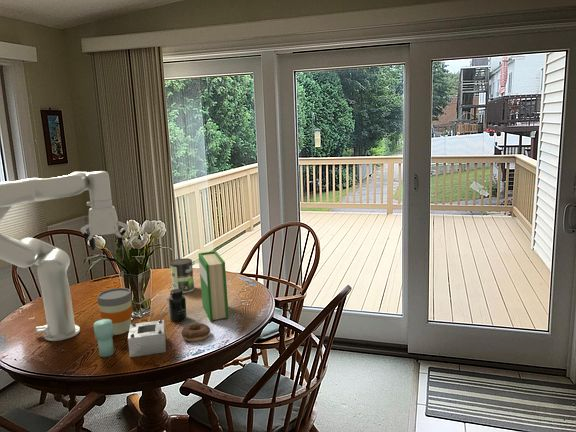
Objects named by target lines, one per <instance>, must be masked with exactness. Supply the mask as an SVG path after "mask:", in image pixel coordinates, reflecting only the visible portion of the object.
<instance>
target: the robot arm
mask: <svg viewBox="0 0 576 432" xmlns="http://www.w3.org/2000/svg"><path fill="white" fill-rule="evenodd" d="M111 189H112V188H111V180H110V175H109V173H108V171H105V170H99V171H98V170H97V171H90V172H89V171H88V172H87V171H73V172H71V173H70V174H68V175H67V174H66V175H62V176H57V177H50V178H38V177H31V178H24V179H20V180H14V181H0V222H1V221H2V220H3V219H4V217H5V216H6V215H7V213H9V212H10V210H11V208H12V207H13V206H17V205H23V204H28V203H29V204H30V203H34V202H35V203H36V202H43V201H48V200H56V199H61V198H62V199H63V198H67V197H73V196H77V195H80V194H82V193H83V192H85V191H88V193H89V199H90V200H89V201H87V202H86V206H87V207H88V206H89V207H90V208H89V209H88V224H85V225H84V226H82V227H81V228H80V229H79V231H80V232H81V233H82V235H83V236H84V237H85V238H86V239H87V240H88V241H89V247H90V248H91V251H95V249H96V241H95V238H94V236H103V235H113V234H115V235H116V236H117V248H119V249H121V248H122V246H123V244H124V243H123V242H124V241H123V236H124V235H125V233H126V232H127V230H128V228H129V224H127V223H124V222H122V221H119V219H118V214H117V212H116V211H117V210H116V208H115V206H114V205H113V200H112V191H111ZM120 227H122V231H120ZM87 229H88V231H89V233H88V232H87ZM0 260H1V261H4V262H7V263H8V264H12V265H14V266H16V267H19V268H23V269H24V268H25V269H26V268H29V267H32V266H33V265H35V266H38V267H37V269H36V271H37V272H36V273H37V277H38V281H39V284H40V289H41V296H42V301H43V302H42V303H43V308H44V314H45V319H46V320H45V321H46V324H45V325H39V326H35V332H37V334H42V333H44V334H43V336H44V337H43V338H44V339H45V340H46V341H51V342H58V341H59V342H60V341H65V340H68V339H71V338H73V337H75V336H77V335H78V334H79V333H80V332H81V327H80V326H79V325H77V324H76V323H75V316H74V310H73V302H72V295H71V290H70V283H69V280H68V279H69V277H68V273H67V271H68V268H69V267H70V264H71V258H70V256H69V255H68V253H67V252H66V251H65V250H63V249H61V248H59V247H56V246H55V245H52V244H50V243H48V242H46V241H43V240H42V239H41V240H40V239H38V238H34V237H23V238H21V239H20V240H19V239H17V238H14V237H11V236H10V235H7V234H5V233H2V232H0Z"/></svg>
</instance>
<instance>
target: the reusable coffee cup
mask: <svg viewBox="0 0 576 432" xmlns="http://www.w3.org/2000/svg"><path fill="white" fill-rule="evenodd" d="M132 299H133V295H132V291H131V289H129V288H126V287H118V288H117V287H116V288H110V289H106V290H104V291H101V292H100V293H98V295H97V304H98V306H99V314H100V319H101V320H102V319H110V320H112V325H113V333H114V335H113V336H116V335H122V334H124V333H127V332H129V329H130V324H132V317H133V304H132Z"/></svg>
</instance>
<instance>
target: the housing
mask: <svg viewBox="0 0 576 432" xmlns="http://www.w3.org/2000/svg"><path fill="white" fill-rule="evenodd" d="M127 336H128V337H127V344H128V352H129V358H134V357H135V358H136V357H141V356H142V357H143V356H149V355H153V354H154V355H155V354H161V353H162V354H163V353H166V352H167V334H166V326H165V319H158V320H154V321H144V322H138V323H136V322H133V323H131V324H130V329H129V331H128V335H127Z"/></svg>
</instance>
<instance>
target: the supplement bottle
mask: <svg viewBox="0 0 576 432" xmlns="http://www.w3.org/2000/svg"><path fill="white" fill-rule="evenodd" d="M169 296H170V297H169V298H168V311H169V312H168V313H169V319H170V321H171V322H182V321H185V320H186V319H187V317H188V316H187V315H188V313H187V301H186V300H187V299H186V297H185V296H184V293H183V292H182V290H181V289H174V290H173V289H171V290H170V295H169Z"/></svg>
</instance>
